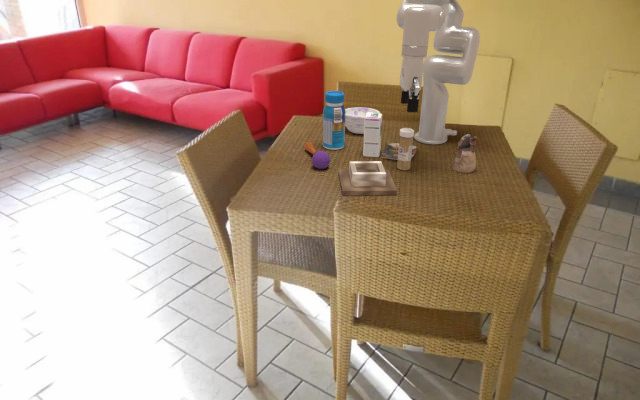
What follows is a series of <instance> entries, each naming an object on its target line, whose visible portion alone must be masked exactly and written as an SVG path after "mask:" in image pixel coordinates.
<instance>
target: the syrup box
mask: <svg viewBox="0 0 640 400" xmlns="http://www.w3.org/2000/svg"><path fill="white" fill-rule="evenodd" d="M382 125H383V113H381V112H380V113H374V112H370V113H366V115H365V117H364V134H363V141H362V142H363V145H362V146H363V147H362V149H363V150H362V156H363V157H366V158H367V157H369V158H379V157H380V154H381V151H382V150H381V146H382Z"/></svg>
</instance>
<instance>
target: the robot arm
mask: <svg viewBox="0 0 640 400" xmlns="http://www.w3.org/2000/svg"><path fill="white" fill-rule="evenodd" d="M464 13H465V12H464V10H463V8H462V7H461V5H460V3H459V2H458V0H402V2H401V3H400V5H399V8H398V10H397V13H396V24H397V26H398V27H399V28H400V29H402V30H403V32H402V42H401V54H400V55H401V57H402V61H401V68H400V69H401V70H400V76H399V86H400V87H401V95H400V104H403V105H404V104H405V105H406V111H407V113H418V111H419V105H420V104H419V101H420V91H421V89H422V96H421V97H422V98H421V105H420V106H421V107H420V117H419V126H418V127H419V128H418V131H417V132H415V133H414V136H413V140H415V141H417V142H418V143H422V144H426V145H441V144H445V143H447V142H448V136H457V135H458V130H453V129H451V128H446V122H447V121H446V120H447V114H448V103H449V98H450V96H449V94H450V93H449V90H448V88H447V86H446V85H445V84H449V85H458V86H459V85H460V86H463V85H467V84H469V83H470V82H471V79H472V76H473V71H474V68H475V65H476V64H475V63H476V59H477V56H478V51H479V47H480V42H481V41H480V38H481V35H480V32H479V29H477V28H476V27H472V26H462V24H463V21H464V17H465V14H464ZM430 32H435V33H434V37H433V44H432V45H433V49H434V50H435V51H436V52H437V53H441V54H431V55H428V47H429V38H430ZM445 54H447V55H445ZM448 54H449V55H448ZM456 55H457V56H456ZM458 55H461V56H458ZM422 85H423V86H422Z"/></svg>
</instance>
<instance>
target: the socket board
mask: <svg viewBox="0 0 640 400" xmlns="http://www.w3.org/2000/svg"><path fill="white" fill-rule="evenodd" d="M348 162H349V164H348V168H346V169H343V168H342V169H338V177H339V181H340V188H341V192H342V197H344V196H347V197H348V196H353V197H354V196H356V197H357V196H397V195H398V189H397V187H396V185H395V182H394V179H393V176H392V175H391V173H390V171H389V168H385V167H384V165H383V162H382V161H381V160H380V161H379V160H376V161H375V160H374V161H373V160H369V161H368V160H366V161H365V160H363V161H361V160H359V161H357V160H356V161H354V160H353V161H348Z"/></svg>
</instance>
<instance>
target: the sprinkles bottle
mask: <svg viewBox="0 0 640 400" xmlns="http://www.w3.org/2000/svg"><path fill="white" fill-rule="evenodd" d="M414 135H415V130H414V129H413V128H410V127H403V128H400V129H399V143H398V144H399V145H398V152H397V164H396V168H397V169H398V170H400V171H408V170H410V169H411V162H412V161H411V160H412V155H413V153H412V152H413V144H414V143H413V142H414Z"/></svg>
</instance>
